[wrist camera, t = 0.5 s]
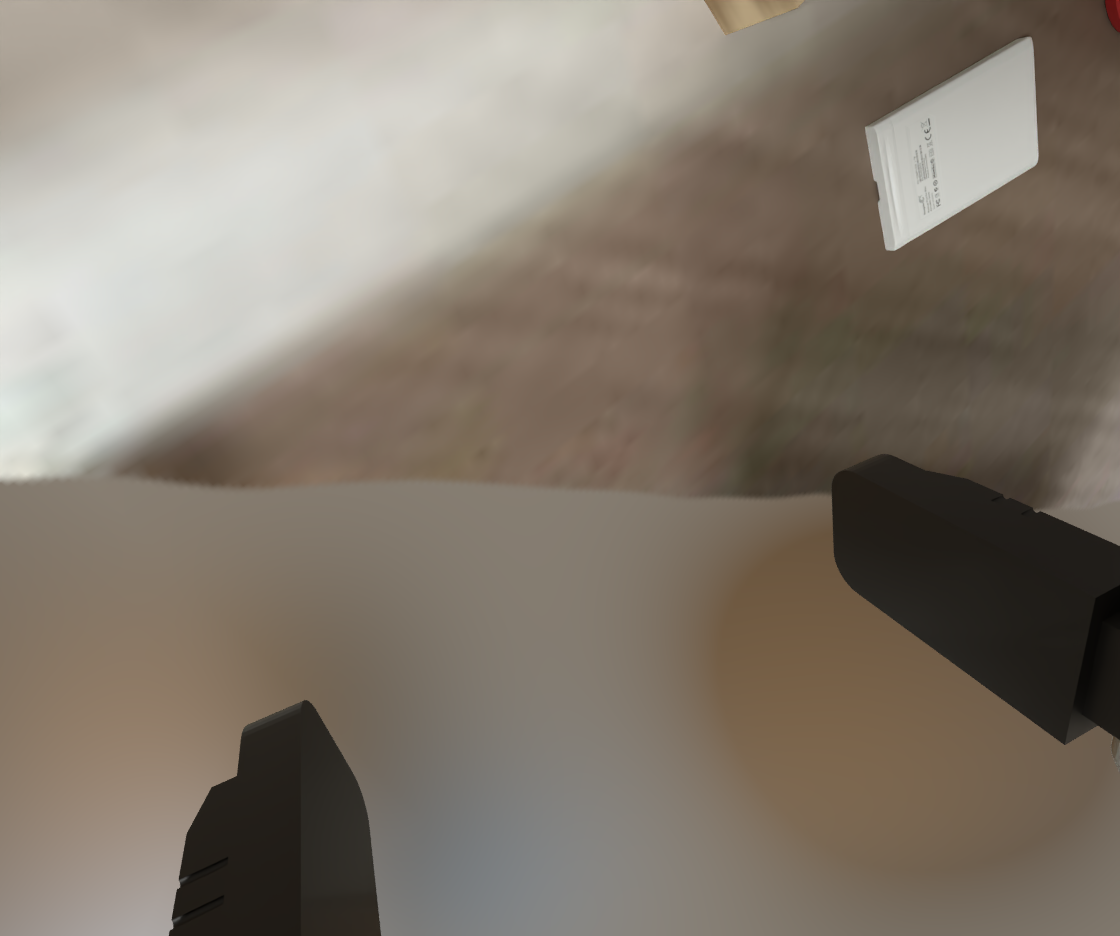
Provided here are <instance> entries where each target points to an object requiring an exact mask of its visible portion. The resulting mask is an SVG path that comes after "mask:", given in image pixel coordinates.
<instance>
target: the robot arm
mask: <svg viewBox="0 0 1120 936" xmlns="http://www.w3.org/2000/svg"><path fill="white" fill-rule="evenodd" d="M832 512H833V542H834V557H835V562H836V564H837V567H838V569H839V571H840V573H841V575H842V577H843V578H844V580H845V581H846V582H847V584H848V585H849V586H850V587H851V588H852V589H853V590H854V591H855V592H857V593H858V594H859V595H861V596H862V597H863V598H865V599H866V600H867V601H869V602H870V603H872V604H873V605H874V606H876V607H877V608H879V609H880V610H881V611H883V612H884V613H886V614H887V615H888V616H889V617H891V618H892V619H893V620H895V621H896V622H897V623H899V624H900V625H902V626H903V627H904V628H906V629H907V630H909V631H910V632H911V633H913V634H914V635H915V636H917V637H918V638H919V639H921V640H922V641H923V642H925V643H926V644H928V645H929V646H930V647H932V648H933V649H934V650H936V651H937V652H938V653H940V654H941V655H943V656H944V657H945V658H947V659H948V660H950V661H951V662H952V663H953V664H955V665H956V666H958V667H959V668H960V669H962V670H963V671H965V672H966V673H967V674H968V675H970V676H971V677H973V678H974V679H975V680H977V681H978V682H979V683H981V684H982V685H983V686H985V687H986V688H988V689H989V690H990V691H992V692H993V693H994V694H996V695H997V696H999V697H1000V698H1001V699H1003V700H1004V701H1005V702H1007V703H1008V704H1009V705H1011V706H1012V707H1014V708H1015V709H1016V710H1018V711H1019V712H1020V713H1022V714H1023V715H1024V716H1026V717H1027V718H1029V719H1030V720H1031V721H1033V722H1034V723H1035V724H1037V725H1038V726H1039V727H1041V728H1042V729H1044V730H1045V731H1046V732H1048V733H1049V734H1050V735H1052V736H1053V737H1054V738H1056V739H1057V740H1059V741H1060V742H1061V743H1063V744H1064V745H1066V744H1067V743H1069V742H1071V741H1072V740H1074V739H1076V738H1077V737H1079V736H1081V735H1082V734H1084V733H1086V732H1088V731H1089V730H1091V729H1093V728H1094V727H1096V726H1100V727H1101V728H1103V729H1104V730H1106V731H1107V732H1108V733H1110V734H1112V735H1113V738H1112V743H1111V752H1112V756H1113V758H1114V761H1115V764H1116V766H1117V768H1118V770H1119V772H1120V546H1118V545H1116V544H1113V543H1112V542H1109V541H1107V540H1105V539H1102V538H1100V537H1098V536H1096V535H1093V534H1091V533H1089V532H1087V531H1084V530H1082V529H1080V528H1077V527H1075V526H1073V525H1071V524H1068V523H1066V522H1064V521H1062V520H1059V519H1057V518H1055V517H1052V516H1050V515H1048V514H1046V513H1043V512H1041V511H1040V512H1038V513H1036V512H1034V510H1033V508H1032V507H1030V506H1028V505H1025V504H1023V503H1021V502H1018V501H1016V500H1014V499H1012V498H1009V499H1007V500H1006V499H1005V498H1004V497H1003V494H1000V493H998V492H996V491H993V490H991V489H989V488H987V487H984V486H982V485H980V484H978V483H975V482H973V481H971V480H969V479H965V478H960V477H955V476H950V475H945V474H940V473H936V472H931V471H925V470H923V469H921V468H919V467H916V466H914V465H912V464H910V463H908V462H905V461H903V460H901V459H899V458H897V457H894V456H892V455H888V454H880V455H877V456H875V457H872V458H870V459H868V460H866V461H863V462H861V463H859V464H856V465H854V466H852V467H849V468H847V469H845V470H842V471H840V472H838V473H837V474H836V475H835V476H834V478H833V481H832ZM179 881H180V888H179V889H177V892H176V898H175V904H174V909H173V915H172V921H173V927H174V928H173V929H172V930H170V932H169V936H381V931H380V921H379V913H378V903H377V894H376V885H375V876H374V866H373V856H372V847H371V837H370V828H369V820H368V815H367V810H366V806H365V803H364V799H363V796H362V793H361V790H360V787H359V785H358V782H357V780H356V778H355V776H354V774H353V772H352V771H351V769H350V767H349V765H348V764H347V762H346V760H345V759H344V757H343V755H342V753H341V752H340V750H339V748H338V747H337V745H336V743H335V741H334V740H333V738H332V736H331V735H330V733H329V731H328V729H327V728H326V726H325V724H324V723H323V721H322V719H321V718H320V716H319V714H318V712H317V711H316V709H315V708H314V706H313V705H312V704H311V703H310V702H309V701H307V700H304V701H302V702H300V703H297V704H295V705H293V706H290V707H288V708H286V709H283V710H281V711H279V712H276V713H274V714H272V715H269V716H267V717H265V718H262V719H260V720H258V721H256V722H253V723H251V724H248V725H247V726H245V728H244V729H243V732H242V736H241V744H240V754H239V763H238V773H237V776H236V777H234V778H232V779H229V780H227V781H225V782H223V783H221V784H218V785H216V786H214V787H212V788H211V790H210V791H209V793H208V795H207V797H206V799H205V801H204V803H203V805H202V806H201V808H200V810H199V812H198V814H197V816H196V817H195V819H194V821H193V823H192V825H191V827H190V829H189V830H188V832H187V836H186V841H185V847H184V852H183V858H182V864H181V869H180V875H179Z"/></svg>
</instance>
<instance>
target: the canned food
mask: <svg viewBox="0 0 1120 936" xmlns="http://www.w3.org/2000/svg"><path fill="white" fill-rule="evenodd" d="M1105 5H1106V10H1107V14H1108V17H1109V19H1110V21H1111V24H1112V25H1113V27H1114V28H1115V29H1116V30H1117V31H1118V32H1120V0H1105Z"/></svg>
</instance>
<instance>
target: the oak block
mask: <svg viewBox="0 0 1120 936" xmlns="http://www.w3.org/2000/svg"><path fill="white" fill-rule="evenodd" d="M704 1H705V2H706V4H707V5H708V7H709V9H710V10H711V12H712V14H713V15H714V17H715V19H716V20H717V22H718V24H719V25H720V27H721V29H722V30H723V32H724V34H725V35H727V34H730V33H733V32H735V31H738V30H741V29H743V28H746V27H749V26H751V25H754V24H756V23H759V22H762V21H764V20H767V19H770V18H772V17H775V16H778V15H780V14H783V13H786V12H788V11H791V10H793V9H796V8H798V7H799V6H800V5H801V4H802V3H803V1H804V0H704Z"/></svg>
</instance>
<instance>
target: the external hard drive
mask: <svg viewBox="0 0 1120 936" xmlns="http://www.w3.org/2000/svg"><path fill="white" fill-rule="evenodd" d="M865 131H866V137H867V142H868V148H869V154H870V160H871V166H872V171H873V177H874V181H876V182H877V186H878V191H879V197H880V199H879V201H878V206H879V212H880V218H881V224H882V230H883V236H884V242H885V248H886V250H892V251H895V250H896V249H898V248H900V247H902V246H903V245H905V244H906V243H908V242H910V241H911V240H913V239H915V238H916V237H918V236H920V235H921V234H923V233H925V232H926V231H928V230H930V229H932V228H933V227H935V226H937V225H938V224H940V223H942V222H943V221H945V220H947V219H948V218H950V217H951V216H953V215H955V214H956V213H958V212H960V211H961V210H963V209H965V208H966V207H968V206H970V205H971V204H973V203H975V202H976V201H978V200H980V199H981V198H983V197H985V196H986V195H988V194H989V193H991V192H993V191H995V190H996V189H998V188H1000V187H1001V186H1003V185H1004V184H1006V183H1008V182H1009V181H1011V180H1013V179H1014V178H1016V177H1017V176H1019V175H1021V174H1022V173H1024V172H1026V171H1027V170H1029V169H1031V168H1032V167H1034V166H1035V165H1036V164H1037V162H1038V135H1037V112H1036V88H1035V69H1034V48H1033V41H1032V38H1031V37H1024V38H1018V39H1016V40H1014V41H1013V42H1011V43H1009V44H1007V45H1006V46H1004V47H1002V48H1001V49H999V50H997V51H995V52H994V53H992V54H990V55H989V56H987V57H985V58H983V59H982V60H980V61H978V62H977V63H975V64H973V65H971V66H970V67H968V68H966V69H964V70H963V71H961V72H959V73H958V74H956V75H954V76H952V77H951V78H949V79H947V80H945V81H944V82H942V83H940V84H938V85H937V86H935V87H933V88H932V89H930V90H928V91H926V92H925V93H923V94H921V95H919V96H918V97H916V98H914V99H913V100H911V101H909V102H907V103H906V104H904V105H902V106H900V107H899V108H897V109H895V110H894V111H892V112H890V113H888V114H887V115H885V116H883V117H882V118H880V119H878V120H876V121H875V122H873V123H871V124H870V125H868V126H866V127H865Z"/></svg>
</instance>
